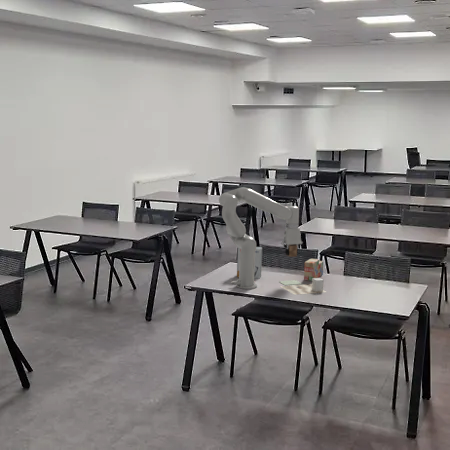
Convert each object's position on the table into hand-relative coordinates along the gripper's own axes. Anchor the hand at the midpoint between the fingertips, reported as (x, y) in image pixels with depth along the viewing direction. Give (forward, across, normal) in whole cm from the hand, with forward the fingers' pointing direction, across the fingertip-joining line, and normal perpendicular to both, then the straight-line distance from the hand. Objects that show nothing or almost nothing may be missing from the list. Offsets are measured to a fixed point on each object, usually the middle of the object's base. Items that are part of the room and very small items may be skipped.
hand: (291, 254), depth 388 cm
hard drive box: (+19, -19, +23) cm, 35 cm away
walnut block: (+1, 0, 0) cm, 1 cm away
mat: (+19, 0, 0) cm, 19 cm away
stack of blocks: (+19, +22, +10) cm, 31 cm away
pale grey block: (+19, +8, -21) cm, 29 cm away
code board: (+19, +1, -16) cm, 25 cm away
